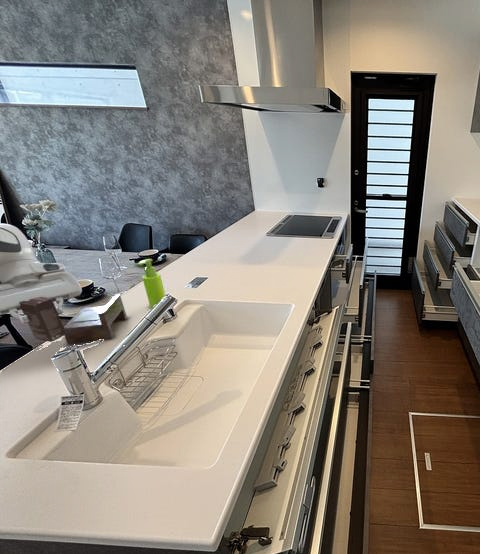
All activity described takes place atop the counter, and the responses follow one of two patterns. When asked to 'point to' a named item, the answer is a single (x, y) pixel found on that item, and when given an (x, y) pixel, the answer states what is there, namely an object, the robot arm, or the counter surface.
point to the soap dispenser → (152, 283)
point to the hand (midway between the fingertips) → (43, 317)
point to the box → (43, 318)
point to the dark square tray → (95, 322)
